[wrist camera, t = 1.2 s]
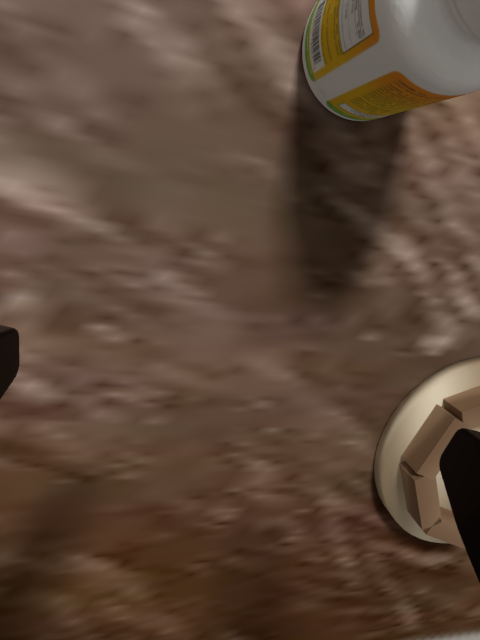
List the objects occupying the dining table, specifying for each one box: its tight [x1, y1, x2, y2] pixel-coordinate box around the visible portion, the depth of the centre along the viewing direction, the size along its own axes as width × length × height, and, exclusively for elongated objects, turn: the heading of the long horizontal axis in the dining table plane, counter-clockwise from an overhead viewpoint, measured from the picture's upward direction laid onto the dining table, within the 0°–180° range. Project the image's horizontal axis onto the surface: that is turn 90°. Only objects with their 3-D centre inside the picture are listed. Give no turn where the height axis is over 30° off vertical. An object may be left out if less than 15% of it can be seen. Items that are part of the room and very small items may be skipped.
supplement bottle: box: [302, 0, 480, 121], centre depth 14 cm, size 5×5×10 cm
